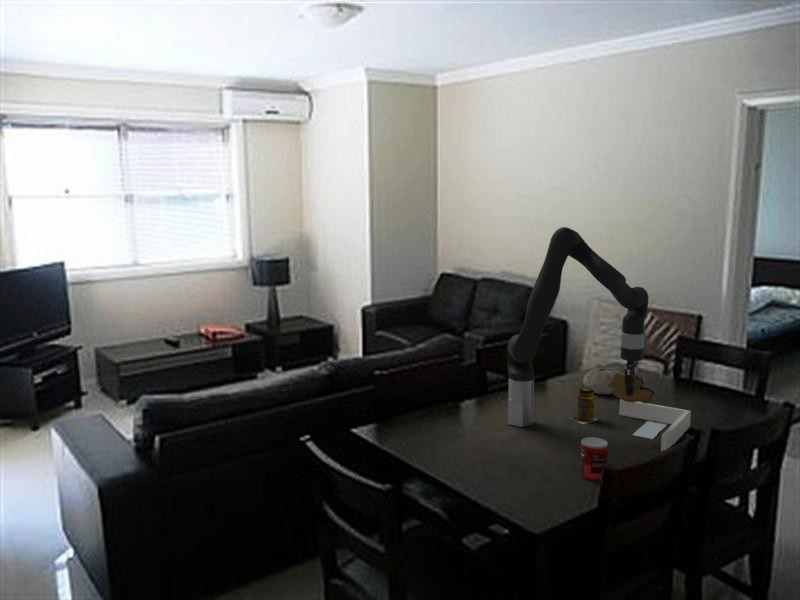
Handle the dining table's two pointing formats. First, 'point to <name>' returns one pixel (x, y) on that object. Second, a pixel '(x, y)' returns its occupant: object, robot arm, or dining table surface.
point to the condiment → (585, 406)
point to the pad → (649, 429)
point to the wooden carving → (638, 391)
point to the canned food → (593, 457)
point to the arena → (659, 419)
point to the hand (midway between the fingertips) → (630, 393)
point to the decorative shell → (600, 379)
